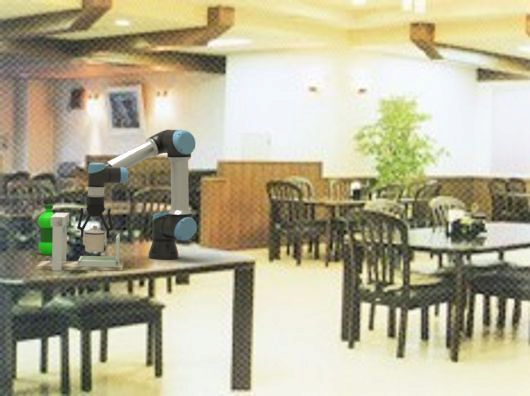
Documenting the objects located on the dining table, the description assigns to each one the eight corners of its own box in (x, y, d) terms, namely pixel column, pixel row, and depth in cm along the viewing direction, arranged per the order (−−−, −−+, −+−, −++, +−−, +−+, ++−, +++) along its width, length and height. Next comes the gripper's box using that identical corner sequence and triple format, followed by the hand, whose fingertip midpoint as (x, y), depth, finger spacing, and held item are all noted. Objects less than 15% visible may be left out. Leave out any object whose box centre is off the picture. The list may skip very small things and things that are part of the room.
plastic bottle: (61, 255, 475) (62, 205, 473) (41, 255, 469) (42, 205, 467) (54, 252, 483) (54, 203, 481) (34, 253, 477) (34, 204, 475)
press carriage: (119, 261, 445) (120, 233, 444) (117, 267, 428) (118, 237, 427) (80, 261, 443) (81, 232, 442) (77, 266, 426) (78, 236, 425)
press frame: (68, 263, 446) (69, 212, 444) (63, 270, 422) (64, 217, 420) (55, 263, 445) (56, 212, 443) (49, 270, 421) (50, 217, 419)
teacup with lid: (108, 251, 435) (109, 226, 434) (94, 252, 427) (95, 227, 427) (89, 248, 442) (90, 224, 441) (75, 250, 434) (76, 225, 433)
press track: (123, 265, 445) (123, 262, 445) (122, 270, 428) (122, 267, 428) (41, 264, 441) (41, 260, 441) (37, 269, 424) (37, 266, 424)
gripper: (120, 196, 438) (118, 244, 439) (72, 195, 435) (71, 243, 437) (119, 197, 431) (118, 246, 432) (71, 196, 428) (70, 245, 429)
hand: (94, 244), depth 434 cm, fingers closed on teacup with lid, 9 cm apart
